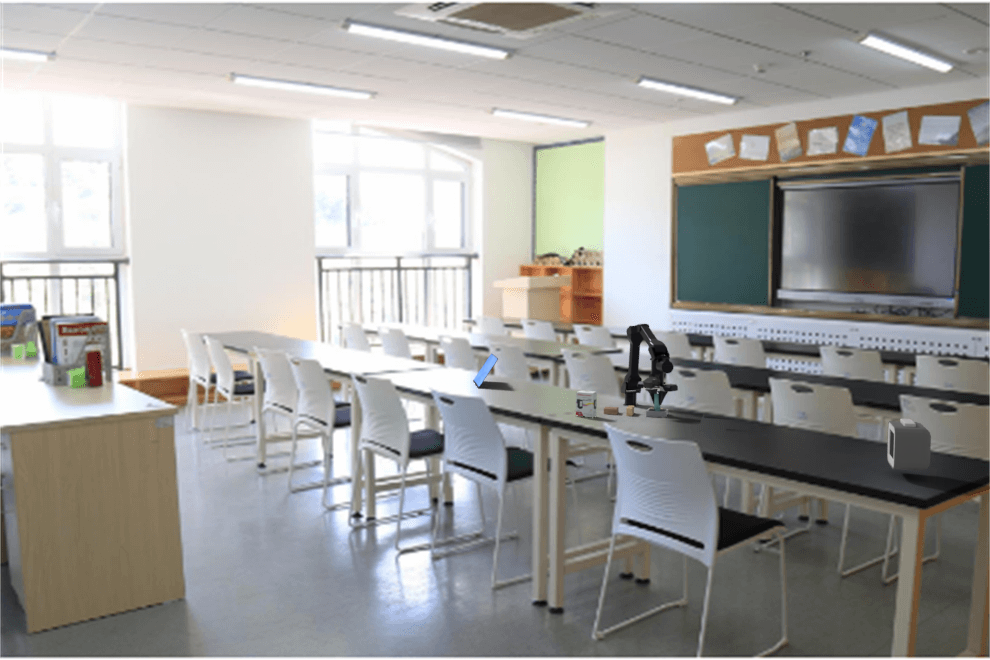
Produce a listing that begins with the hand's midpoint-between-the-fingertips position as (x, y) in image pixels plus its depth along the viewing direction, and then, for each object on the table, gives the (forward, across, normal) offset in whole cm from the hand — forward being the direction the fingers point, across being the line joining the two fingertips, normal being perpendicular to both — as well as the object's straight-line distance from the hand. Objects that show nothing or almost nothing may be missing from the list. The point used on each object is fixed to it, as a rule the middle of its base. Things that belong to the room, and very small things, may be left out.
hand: (657, 404), depth 399 cm
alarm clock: (+5, +121, -24) cm, 123 cm away
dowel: (+3, 0, 0) cm, 3 cm away
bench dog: (+5, -10, -7) cm, 13 cm away
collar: (+5, -6, +7) cm, 11 cm away
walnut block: (+5, -18, -11) cm, 22 cm away
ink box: (+5, -20, -27) cm, 34 cm away
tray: (+5, 0, 0) cm, 5 cm away
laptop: (+6, -131, 0) cm, 131 cm away
